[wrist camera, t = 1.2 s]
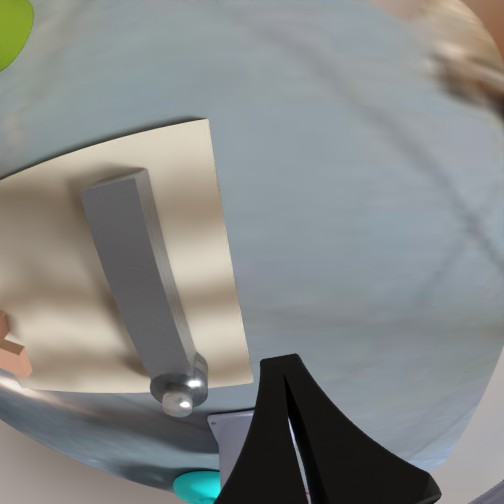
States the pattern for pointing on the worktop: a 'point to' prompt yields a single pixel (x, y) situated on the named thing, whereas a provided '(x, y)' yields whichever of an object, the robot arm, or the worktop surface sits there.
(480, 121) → the worktop surface
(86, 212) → the link
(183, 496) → the donuts
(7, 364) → the block
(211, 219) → the hinge board
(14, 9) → the soap dispenser
